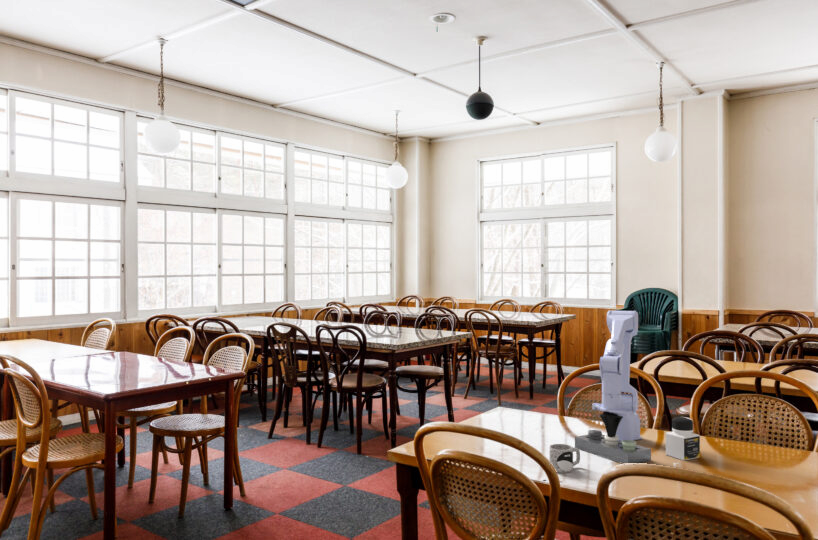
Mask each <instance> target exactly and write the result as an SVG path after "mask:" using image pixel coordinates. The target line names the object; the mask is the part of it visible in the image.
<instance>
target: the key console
mask: <svg viewBox="0 0 818 540" xmlns="http://www.w3.org/2000/svg"><path fill="white" fill-rule="evenodd" d="M605 435H606V434H602V436H601V439H599V440H593V439H590V438H589V435H588V434H584V435H579V436H578V435H577V436H574V448H578V449H579V450H581V451H584V452H586V453H590V454H593V455H595V456H597V457H602V458H605V459H607V460H610V461H613V462H616V463H620V462H621V463H620V464H622V463H637V464H641V463H645V462H650V461H652V449H651V448H649V447H645V446H642V445H639V444H636V447H635V450H633V451H628V450H625V449H623V446H622V440H619V441H618V444H617V445H609V444H606V441H605Z"/></svg>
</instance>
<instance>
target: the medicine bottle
mask: <svg viewBox="0 0 818 540" xmlns="http://www.w3.org/2000/svg"><path fill="white" fill-rule="evenodd" d="M700 442H701V437H700V434H698V433H694V420H693V419H691V418H690V417H686V416H674V417H673V418H672V419H671V431H667V432H666V433H665V455H666V456H669V457H672V458H675V459H678V460H680V461H684V462H685V461H689V460H694V459H699V458H700V456H701V452H700V451H701V449H700V448H701V446H700V445H701V443H700Z"/></svg>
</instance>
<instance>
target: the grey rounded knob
mask: <svg viewBox="0 0 818 540" xmlns="http://www.w3.org/2000/svg"><path fill="white" fill-rule="evenodd" d="M602 433H603V432H602V431H601V430H599V429H589V430H588V432H587V435H589V438H590V439H593V440H599V439H601V436H602V435H603V434H602Z"/></svg>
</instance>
